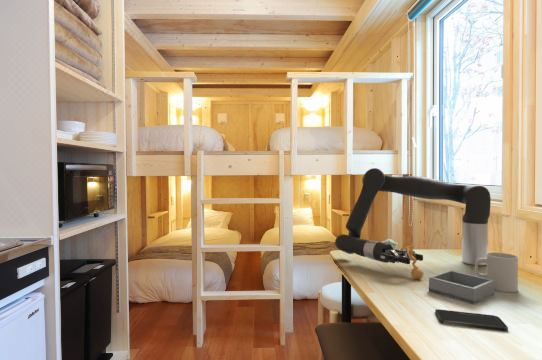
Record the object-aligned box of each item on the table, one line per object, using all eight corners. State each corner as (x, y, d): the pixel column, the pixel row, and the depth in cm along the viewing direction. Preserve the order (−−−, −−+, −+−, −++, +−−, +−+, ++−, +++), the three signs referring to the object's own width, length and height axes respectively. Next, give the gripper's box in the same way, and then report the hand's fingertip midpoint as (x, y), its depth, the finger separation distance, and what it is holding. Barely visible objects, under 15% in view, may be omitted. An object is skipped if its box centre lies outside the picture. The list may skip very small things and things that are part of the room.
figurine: (421, 282, 115) (421, 248, 114) (402, 279, 118) (403, 246, 118) (424, 276, 122) (424, 244, 121) (407, 274, 125) (407, 242, 125)
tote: (449, 283, 114) (449, 270, 114) (494, 294, 103) (494, 280, 103) (428, 291, 107) (428, 277, 107) (474, 304, 96) (474, 288, 95)
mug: (514, 286, 111) (514, 253, 111) (520, 294, 104) (521, 259, 104) (473, 281, 117) (473, 250, 116) (476, 288, 109) (476, 255, 109)
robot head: (380, 253, 159) (380, 239, 159) (381, 251, 163) (381, 237, 162) (397, 254, 156) (398, 240, 155) (398, 252, 159) (398, 238, 159)
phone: (509, 328, 79) (440, 320, 83) (509, 333, 79) (440, 325, 83) (497, 315, 86) (434, 308, 91) (497, 319, 86) (434, 312, 91)
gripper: (366, 243, 128) (404, 251, 115) (389, 239, 136) (427, 246, 123) (366, 263, 128) (404, 273, 115) (388, 257, 136) (427, 266, 123)
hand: (416, 259), depth 119 cm, fingers closed on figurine, 7 cm apart
